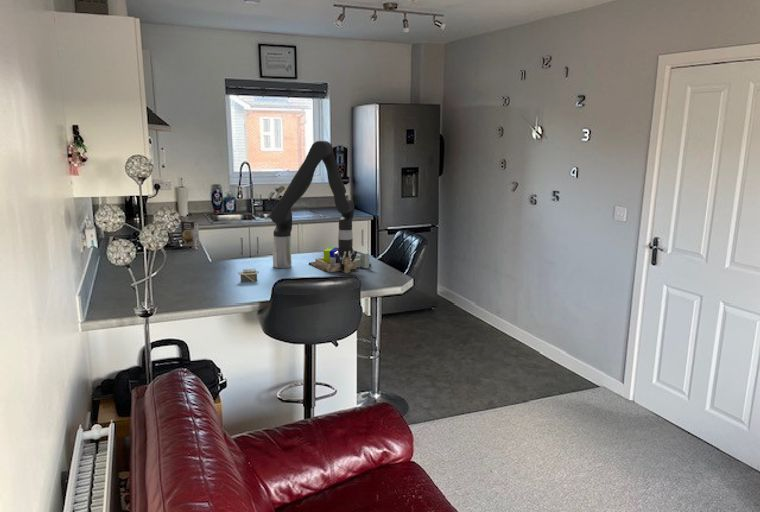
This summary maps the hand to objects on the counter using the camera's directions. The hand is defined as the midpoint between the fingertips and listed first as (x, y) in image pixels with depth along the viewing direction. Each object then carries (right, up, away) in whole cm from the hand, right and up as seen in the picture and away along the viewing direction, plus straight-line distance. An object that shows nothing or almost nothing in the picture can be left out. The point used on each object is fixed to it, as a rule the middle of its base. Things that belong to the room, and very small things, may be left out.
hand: (345, 270), depth 298 cm
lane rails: (-4, +2, +15) cm, 16 cm away
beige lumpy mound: (-4, +1, +7) cm, 9 cm away
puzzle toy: (-6, +1, +10) cm, 12 cm away
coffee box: (-104, +14, +67) cm, 124 cm away
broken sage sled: (+5, +3, +18) cm, 19 cm away
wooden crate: (-46, -6, -21) cm, 51 cm away
